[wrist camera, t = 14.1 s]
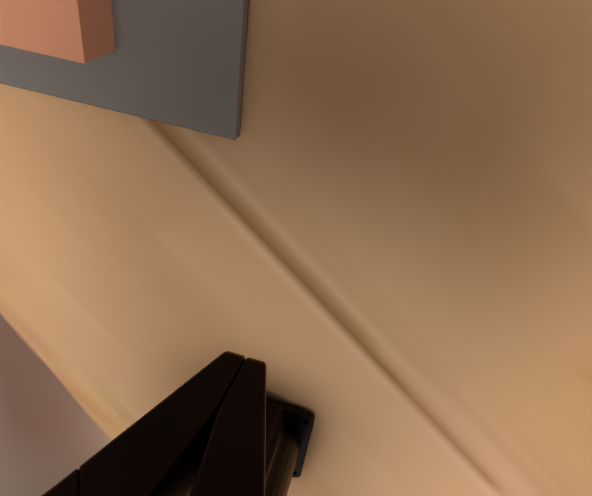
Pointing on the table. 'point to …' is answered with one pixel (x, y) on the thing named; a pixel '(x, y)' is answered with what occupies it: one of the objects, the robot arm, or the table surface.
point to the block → (59, 27)
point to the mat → (154, 65)
